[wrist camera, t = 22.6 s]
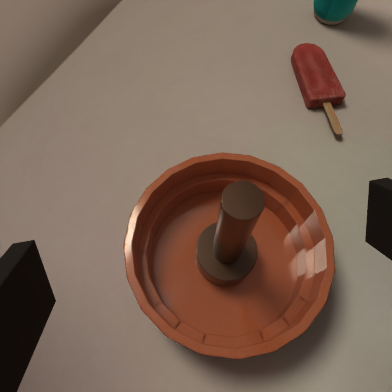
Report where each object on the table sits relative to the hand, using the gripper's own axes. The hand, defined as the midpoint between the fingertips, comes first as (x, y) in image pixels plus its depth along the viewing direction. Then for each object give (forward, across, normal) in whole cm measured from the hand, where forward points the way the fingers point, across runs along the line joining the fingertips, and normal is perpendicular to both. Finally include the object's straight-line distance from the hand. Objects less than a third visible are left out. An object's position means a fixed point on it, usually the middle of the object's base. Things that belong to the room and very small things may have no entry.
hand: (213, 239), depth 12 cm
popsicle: (+30, +20, +2) cm, 36 cm away
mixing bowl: (+16, +3, -11) cm, 20 cm away
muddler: (+16, +3, -11) cm, 20 cm away
